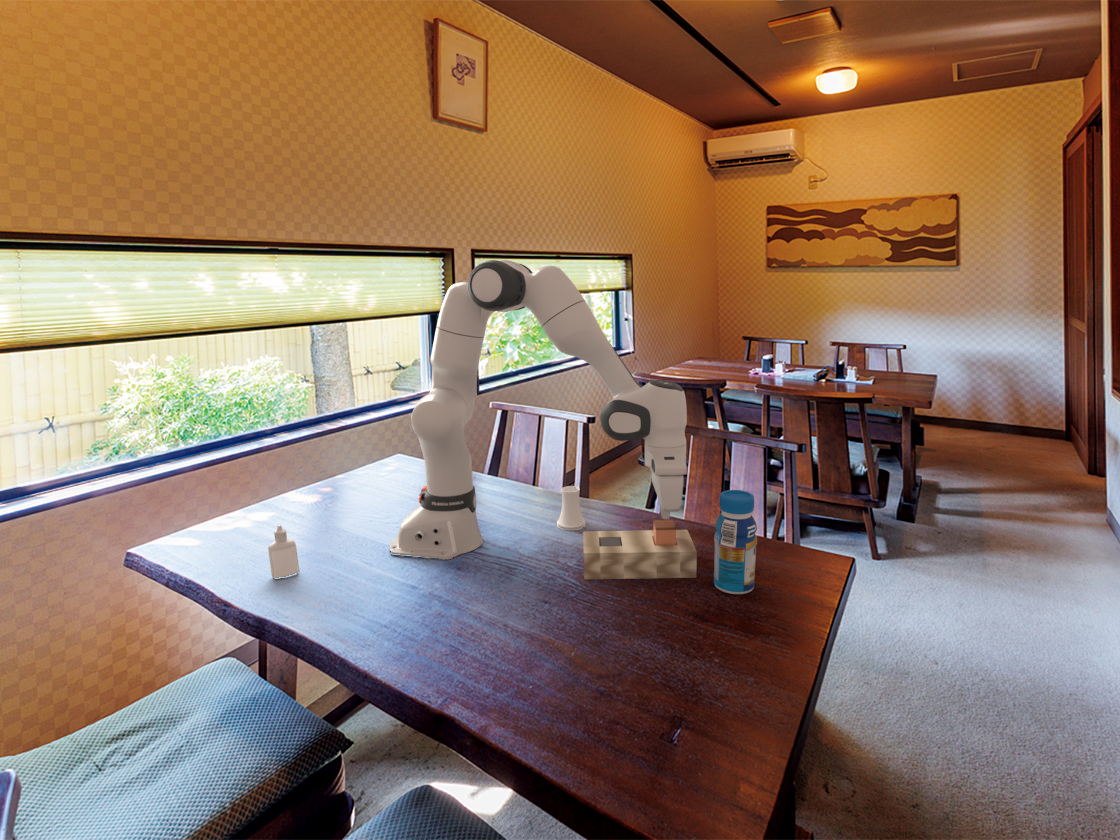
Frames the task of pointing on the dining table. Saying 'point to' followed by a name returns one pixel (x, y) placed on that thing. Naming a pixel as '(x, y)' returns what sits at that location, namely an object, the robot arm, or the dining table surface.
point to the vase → (570, 510)
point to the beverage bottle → (735, 543)
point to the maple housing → (638, 556)
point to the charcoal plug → (610, 541)
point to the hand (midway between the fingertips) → (665, 516)
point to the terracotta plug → (664, 532)
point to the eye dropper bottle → (283, 555)
